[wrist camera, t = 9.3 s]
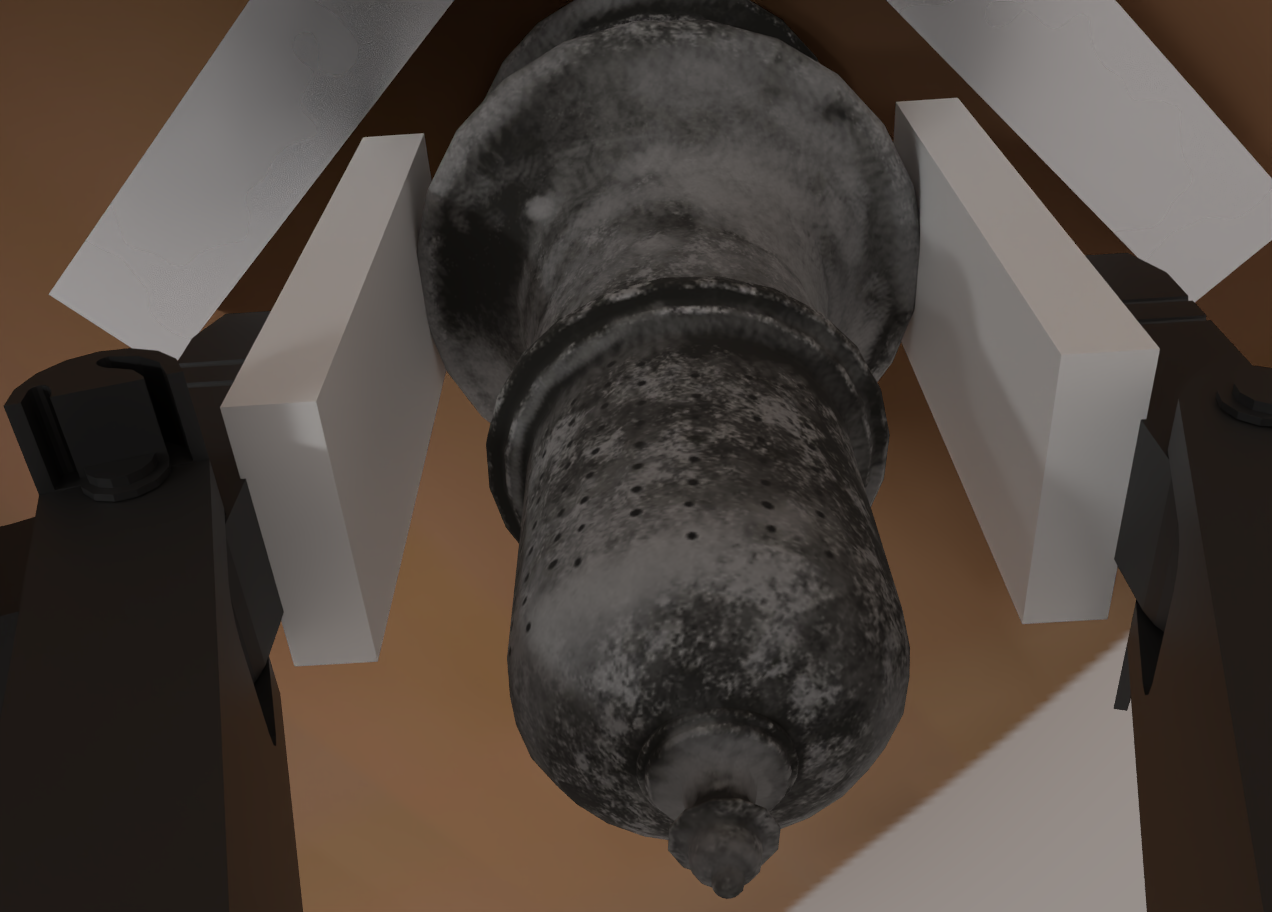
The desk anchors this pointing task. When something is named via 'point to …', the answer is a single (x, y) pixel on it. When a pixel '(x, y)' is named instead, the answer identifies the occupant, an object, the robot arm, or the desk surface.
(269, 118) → the v block
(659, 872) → the desk surface
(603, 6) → the grey tall rounded piece
